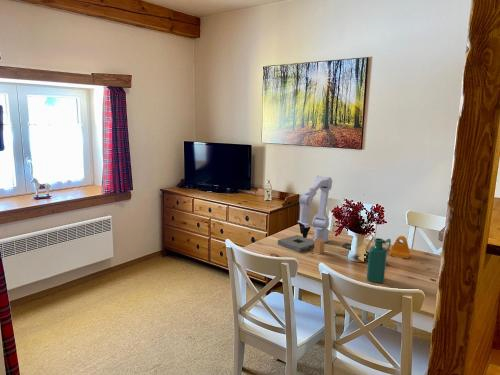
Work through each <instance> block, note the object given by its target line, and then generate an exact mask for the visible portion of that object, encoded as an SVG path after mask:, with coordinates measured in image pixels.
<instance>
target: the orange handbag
mask: <svg viewBox="0 0 500 375" xmlns="http://www.w3.org/2000/svg"><path fill="white" fill-rule="evenodd" d="M400 240H401V241H402V242H401V241H400ZM388 251H389V255H390V256H393V258H396V257H397V258H396V259H401V258H403V259H409V257H410V255H411V251H410V248H409V244H408V240H407V238H406V236H404V235H399V236H397V238H396V240H395V241H394V243H393V245H392V247H391V249H389V250H388Z"/></svg>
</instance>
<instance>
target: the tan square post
mask: <svg viewBox="0 0 500 375" xmlns="http://www.w3.org/2000/svg"><path fill="white" fill-rule="evenodd" d="M325 243H326V242H325V240H323V239H320V238H319V239H315V242H314V248H313V252H314V253H315V254H317V255H321V254H324V253H325Z"/></svg>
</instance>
